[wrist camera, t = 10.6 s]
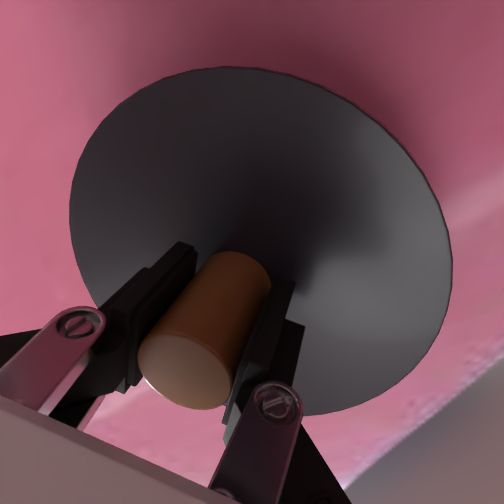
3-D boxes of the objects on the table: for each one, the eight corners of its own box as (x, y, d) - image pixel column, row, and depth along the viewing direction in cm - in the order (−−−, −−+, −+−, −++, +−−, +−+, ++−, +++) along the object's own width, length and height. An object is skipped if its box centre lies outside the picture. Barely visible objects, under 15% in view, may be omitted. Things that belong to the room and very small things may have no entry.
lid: (81, 13, 11) (-127, -21, 6) (550, 143, 9) (739, 227, 5) (90, 331, 19) (-3, 423, 14) (352, 438, 17) (347, 584, 12)
